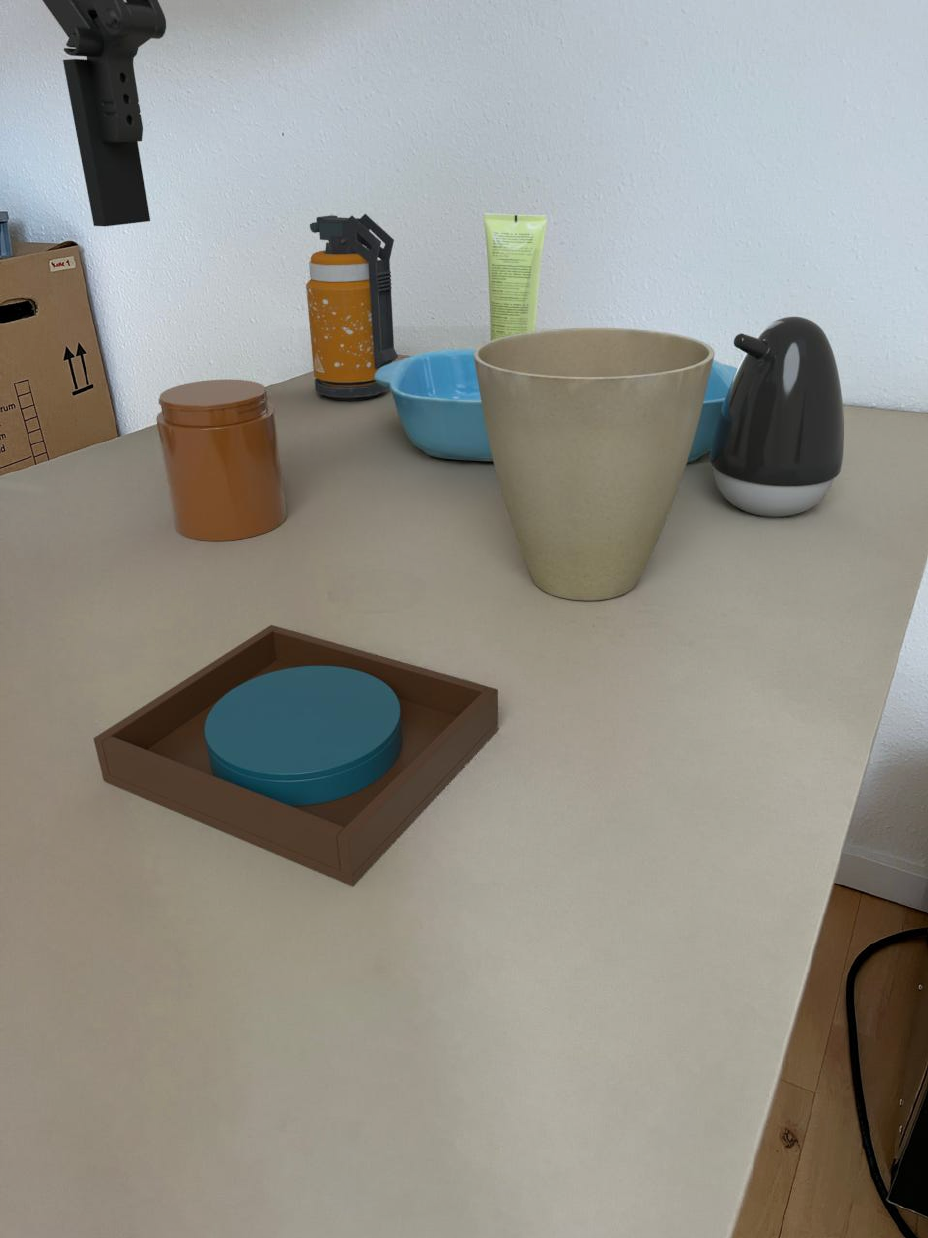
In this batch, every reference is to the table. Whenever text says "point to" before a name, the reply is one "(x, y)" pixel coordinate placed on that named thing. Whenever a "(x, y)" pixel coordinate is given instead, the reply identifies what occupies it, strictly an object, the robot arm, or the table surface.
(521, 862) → the table surface
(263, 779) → the lid
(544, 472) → the plant pot
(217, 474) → the jam jar
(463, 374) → the casserole dish
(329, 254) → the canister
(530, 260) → the tube
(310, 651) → the tray
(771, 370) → the pump dispenser
